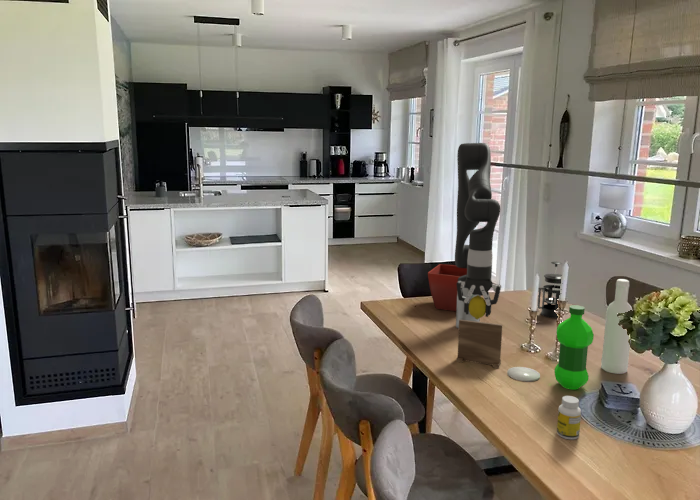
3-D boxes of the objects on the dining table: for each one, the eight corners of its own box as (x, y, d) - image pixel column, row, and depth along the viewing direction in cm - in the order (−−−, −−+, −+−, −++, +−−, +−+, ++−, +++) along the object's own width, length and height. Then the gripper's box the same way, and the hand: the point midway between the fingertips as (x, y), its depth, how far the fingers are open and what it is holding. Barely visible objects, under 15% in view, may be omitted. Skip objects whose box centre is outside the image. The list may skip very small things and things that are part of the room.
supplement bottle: (552, 429, 147) (555, 394, 145) (572, 428, 148) (576, 393, 146) (562, 440, 142) (565, 404, 140) (583, 439, 142) (586, 403, 140)
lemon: (486, 322, 177) (487, 298, 175) (468, 321, 178) (469, 297, 176) (485, 317, 182) (486, 293, 181) (468, 316, 183) (469, 292, 182)
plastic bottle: (571, 376, 179) (577, 300, 174) (596, 390, 170) (603, 310, 165) (545, 381, 176) (551, 303, 171) (569, 395, 166) (576, 314, 161)
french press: (560, 311, 246) (564, 259, 242) (569, 318, 237) (573, 264, 233) (533, 311, 246) (537, 259, 242) (541, 318, 237) (545, 264, 232)
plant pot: (469, 316, 240) (471, 277, 236) (425, 310, 248) (426, 272, 244) (479, 304, 257) (481, 267, 253) (438, 299, 265) (439, 263, 261)
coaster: (509, 366, 187) (509, 365, 187) (541, 371, 183) (541, 369, 183) (505, 378, 178) (505, 376, 178) (538, 383, 174) (538, 381, 174)
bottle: (616, 375, 180) (625, 284, 174) (595, 367, 187) (603, 278, 181) (632, 371, 184) (642, 281, 178) (611, 362, 191) (620, 276, 185)
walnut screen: (459, 356, 196) (460, 317, 193) (500, 362, 190) (503, 322, 188) (456, 361, 191) (457, 322, 188) (498, 368, 186) (501, 327, 183)
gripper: (505, 262, 177) (501, 314, 181) (459, 258, 182) (456, 308, 186) (501, 267, 170) (498, 321, 174) (454, 263, 176) (452, 315, 179)
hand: (477, 314), depth 180 cm, fingers closed on lemon, 5 cm apart
